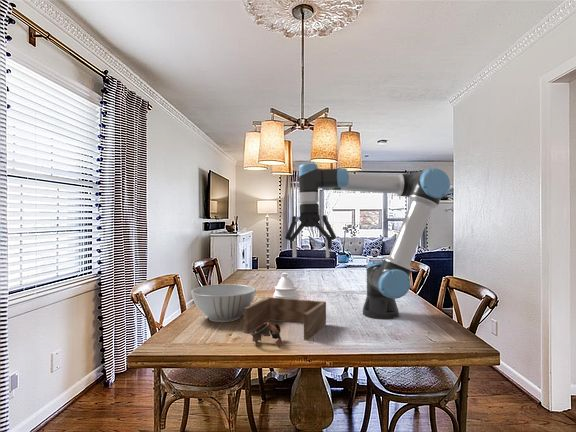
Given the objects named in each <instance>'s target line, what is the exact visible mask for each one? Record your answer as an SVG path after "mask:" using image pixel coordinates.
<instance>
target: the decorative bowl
mask: <svg viewBox="0 0 576 432" xmlns="http://www.w3.org/2000/svg"><path fill="white" fill-rule="evenodd" d="M256 292H257V289H256V287H254V286H251V285H245V284H240V283H239V284H238V283H237V284H236V283H231V284H230V283H222V284H221V283H220V284H209V285H202V286H198V287H195V288H193V289H191V291H190V293H191V297H192V300H193V302H194V304H195V306H196V307H197V309H198V310H199V311H200V312H201V313H202V314H204V316H206V317H208V319H209V321H211V322H215V323H230V322H234V321H238V319H240V316H241V315H243V314H244V308H245V307H247V306H250V305H252V304H253V301H254V299H255V296H256Z"/></svg>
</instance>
